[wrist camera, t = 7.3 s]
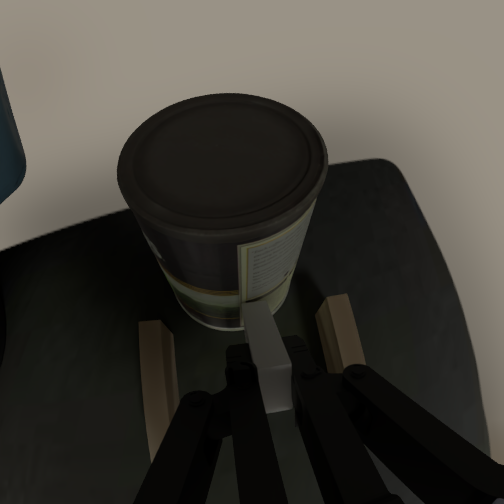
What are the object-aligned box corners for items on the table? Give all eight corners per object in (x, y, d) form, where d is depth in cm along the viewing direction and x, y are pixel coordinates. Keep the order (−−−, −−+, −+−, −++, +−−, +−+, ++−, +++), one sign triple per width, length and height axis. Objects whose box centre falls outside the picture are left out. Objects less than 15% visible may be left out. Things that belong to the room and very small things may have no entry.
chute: (167, 456, 18) (151, 464, 14) (154, 336, 23) (138, 321, 19) (358, 426, 19) (379, 428, 16) (332, 311, 24) (347, 293, 21)
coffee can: (178, 341, 23) (105, 253, 11) (169, 233, 28) (128, 107, 16) (304, 320, 24) (363, 214, 12) (276, 218, 29) (293, 87, 17)
